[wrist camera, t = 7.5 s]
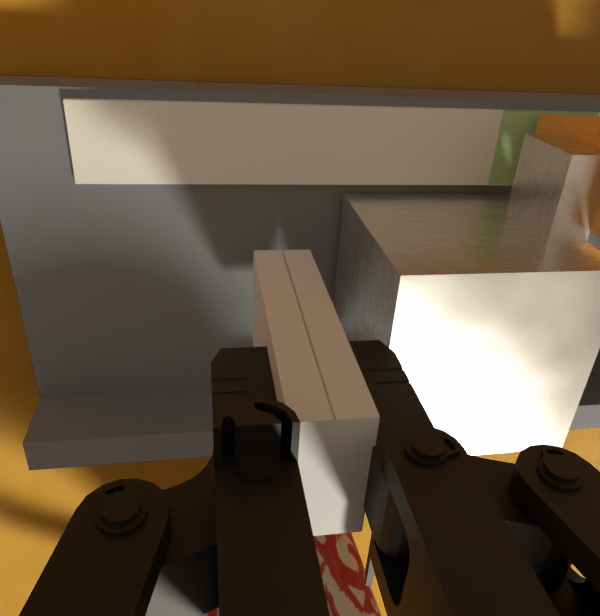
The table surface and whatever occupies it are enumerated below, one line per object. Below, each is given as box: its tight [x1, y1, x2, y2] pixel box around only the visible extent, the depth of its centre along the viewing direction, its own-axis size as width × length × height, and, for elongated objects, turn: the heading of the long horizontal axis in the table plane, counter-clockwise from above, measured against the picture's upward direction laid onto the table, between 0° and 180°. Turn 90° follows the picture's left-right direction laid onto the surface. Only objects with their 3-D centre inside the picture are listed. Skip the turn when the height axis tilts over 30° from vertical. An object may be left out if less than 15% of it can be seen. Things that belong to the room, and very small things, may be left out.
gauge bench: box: [0, 75, 600, 470], centre depth 14 cm, size 26×10×10 cm, turn 87°
